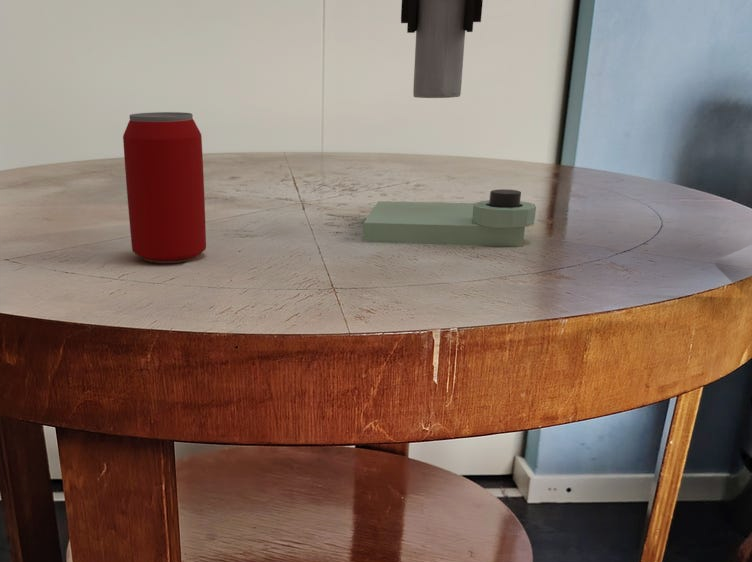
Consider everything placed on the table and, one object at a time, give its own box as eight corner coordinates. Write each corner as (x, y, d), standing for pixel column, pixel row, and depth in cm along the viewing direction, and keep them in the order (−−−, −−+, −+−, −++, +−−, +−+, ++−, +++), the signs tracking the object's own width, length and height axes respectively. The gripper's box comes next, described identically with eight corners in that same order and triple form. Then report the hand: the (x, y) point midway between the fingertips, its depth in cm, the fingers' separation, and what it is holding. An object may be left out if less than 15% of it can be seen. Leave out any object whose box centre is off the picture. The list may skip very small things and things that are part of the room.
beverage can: (184, 247, 86) (177, 110, 80) (220, 259, 81) (215, 114, 75) (120, 255, 83) (107, 114, 77) (153, 269, 78) (142, 118, 72)
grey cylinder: (469, 96, 87) (479, -27, 82) (442, 98, 84) (450, -29, 79) (431, 95, 90) (438, -24, 85) (403, 97, 87) (409, -26, 82)
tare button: (518, 206, 86) (520, 189, 85) (519, 211, 83) (521, 194, 83) (488, 206, 86) (490, 189, 86) (488, 210, 84) (490, 193, 83)
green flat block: (526, 223, 95) (530, 188, 94) (532, 249, 83) (537, 210, 82) (377, 219, 98) (378, 185, 97) (361, 244, 86) (363, 206, 85)
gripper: (350, -217, 74) (344, 33, 82) (564, -231, 71) (535, 30, 79) (361, -196, 81) (355, 33, 89) (557, -209, 77) (531, 31, 86)
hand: (440, 29), depth 84 cm, fingers closed on grey cylinder, 4 cm apart
